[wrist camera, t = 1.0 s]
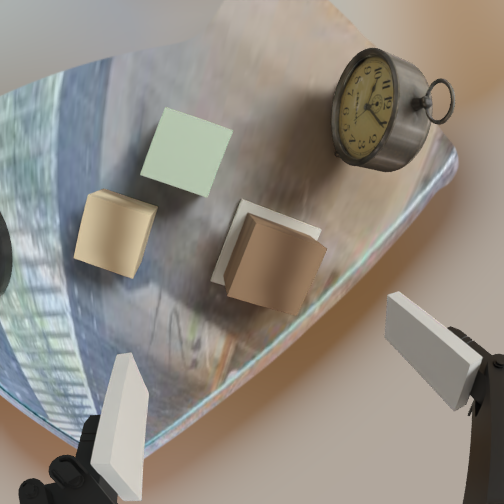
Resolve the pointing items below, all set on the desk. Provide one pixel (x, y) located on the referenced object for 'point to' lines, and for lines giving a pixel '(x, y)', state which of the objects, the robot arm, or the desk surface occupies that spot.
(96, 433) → the robot arm
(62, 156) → the desk surface
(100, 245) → the maple brick
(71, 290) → the desk surface
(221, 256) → the mat
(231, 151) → the desk surface
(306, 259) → the walnut brick
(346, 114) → the alarm clock
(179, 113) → the sage brick
